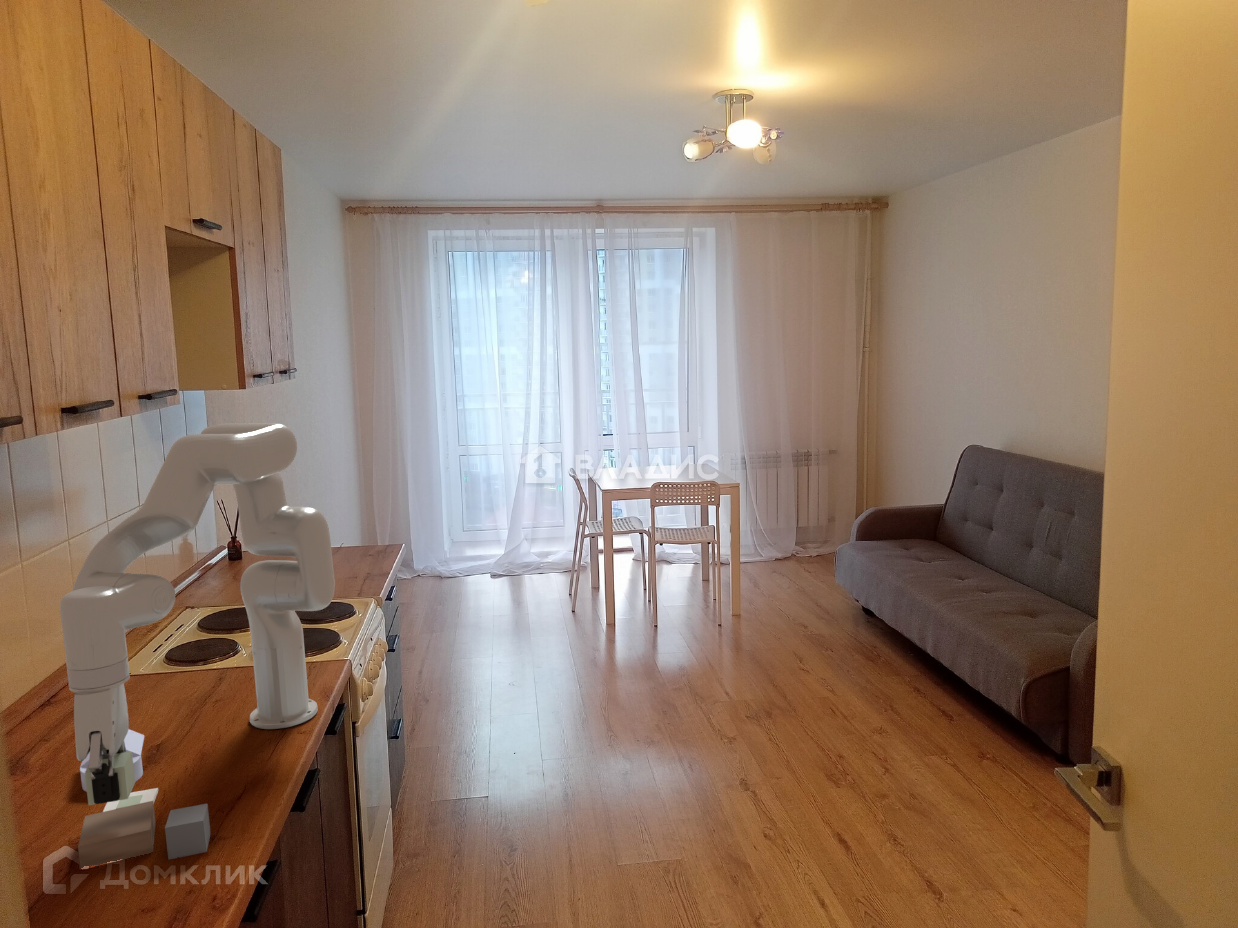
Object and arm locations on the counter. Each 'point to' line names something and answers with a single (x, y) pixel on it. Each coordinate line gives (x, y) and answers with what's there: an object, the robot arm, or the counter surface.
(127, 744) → the wedge on round base
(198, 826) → the charcoal cube
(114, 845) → the taupe block
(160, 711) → the counter surface
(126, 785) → the sage cube
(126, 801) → the tile
